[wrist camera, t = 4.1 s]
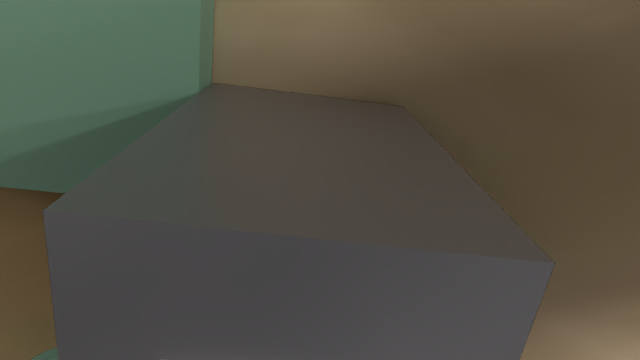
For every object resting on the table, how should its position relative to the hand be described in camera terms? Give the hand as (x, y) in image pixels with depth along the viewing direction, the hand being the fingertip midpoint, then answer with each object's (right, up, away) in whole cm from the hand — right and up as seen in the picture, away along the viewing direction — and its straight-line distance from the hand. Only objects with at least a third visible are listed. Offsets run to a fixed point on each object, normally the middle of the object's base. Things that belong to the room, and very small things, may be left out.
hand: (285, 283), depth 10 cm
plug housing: (0, 0, +1) cm, 1 cm away
